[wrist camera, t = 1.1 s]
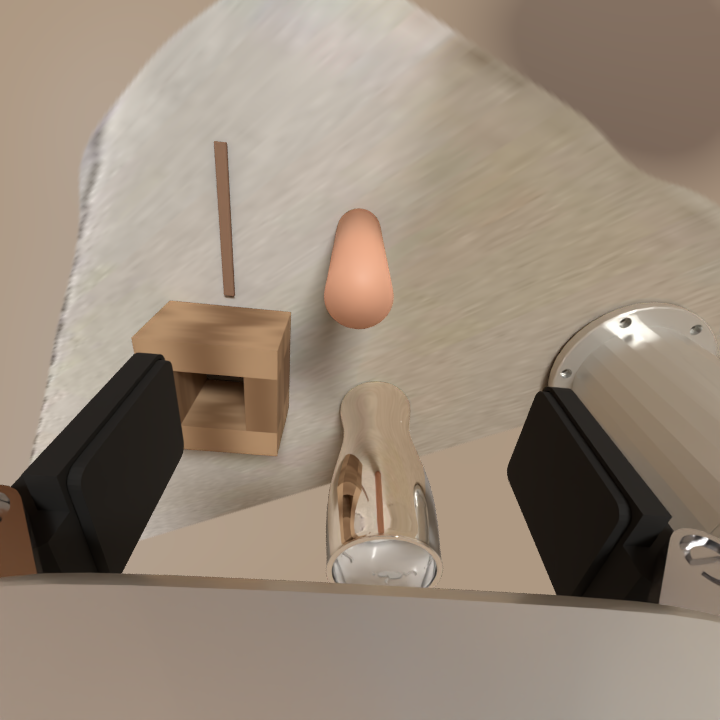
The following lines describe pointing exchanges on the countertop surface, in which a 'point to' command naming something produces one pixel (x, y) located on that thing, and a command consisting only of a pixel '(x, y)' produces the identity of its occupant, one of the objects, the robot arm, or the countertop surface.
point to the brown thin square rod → (224, 216)
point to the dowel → (358, 273)
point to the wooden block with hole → (225, 373)
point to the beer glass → (380, 497)
